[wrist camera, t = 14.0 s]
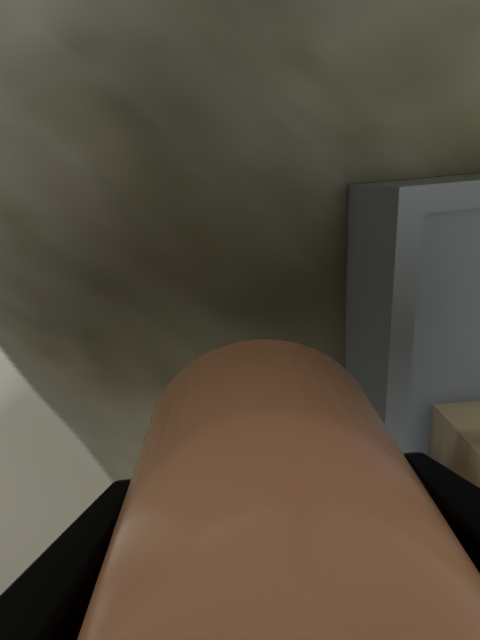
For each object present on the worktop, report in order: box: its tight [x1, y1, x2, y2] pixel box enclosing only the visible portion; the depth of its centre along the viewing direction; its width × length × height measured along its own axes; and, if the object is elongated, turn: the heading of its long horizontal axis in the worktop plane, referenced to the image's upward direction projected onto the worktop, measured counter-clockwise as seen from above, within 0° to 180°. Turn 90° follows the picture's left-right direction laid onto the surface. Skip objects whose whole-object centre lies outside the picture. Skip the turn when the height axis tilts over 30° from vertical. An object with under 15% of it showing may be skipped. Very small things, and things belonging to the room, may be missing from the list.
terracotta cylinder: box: [77, 339, 480, 640], centre depth 5 cm, size 5×5×7 cm
